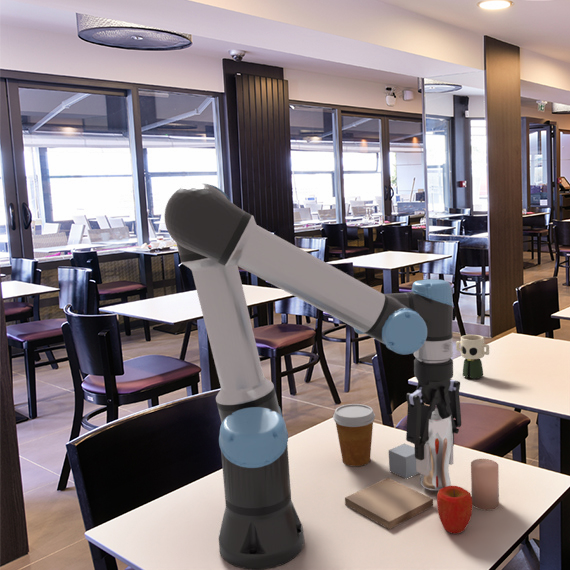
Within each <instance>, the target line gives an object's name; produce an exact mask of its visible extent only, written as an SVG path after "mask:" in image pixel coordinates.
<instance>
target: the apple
mask: <svg viewBox="0 0 570 570" xmlns="http://www.w3.org/2000/svg"><path fill="white" fill-rule="evenodd" d="M436 498H437V500H436V506H437V513H438V517H439V520H440V523H441V525H442V527H443V528H444V530H445V531H446V532H449V533H451V534H460V533H462V532H464V531H465V530H466V528H467V526H468V524H469V523H470V521H471V518H472V514H473V505H472V493H470V492H469V491H468V490H467V489H465V488H463V487H460V486H457V485H451V486H446V487H444V488H442V489H440V490H439V491H438V492H437V495H436Z"/></svg>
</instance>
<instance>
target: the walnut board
mask: <svg viewBox="0 0 570 570" xmlns="http://www.w3.org/2000/svg"><path fill="white" fill-rule="evenodd" d="M344 501H345V502H344V503H345V504H344V505H345V506H347V507H349V508H351V509H352V510H354V511H356V512H358V513H360V514H361V515H362V516H364V517H367V518H369V519H370V520H372V521H374V522H375V523H377V524H379V525H381V526H382V527H384V528H385V529H388V530H391V529H393V528H395V527H397V526H399V525H400V524H403V523H404V522H407V521H408V520H410V519H412V518H414V517H415V516H418V515H420V514H421V513H424V512H425V511H426V510H428V509H430V508H432V507H434V498H432V497H431V496H428V495H426V494H424V493H421V492H419V491H417V490H415V489H413V488H411V487H409V486H406V485H404V484H403V483H401V482H398V481H396V480H394V479H392V478H389V477H386V478H384V479H382V480H380V481H378V482H376V483H374V484H371V485H369V486H367V487H365V488H363V489H361V490H359V491H357V492H354V493H352V494H349V495H348V496H346V497H344Z"/></svg>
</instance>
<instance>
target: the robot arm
mask: <svg viewBox="0 0 570 570" xmlns="http://www.w3.org/2000/svg"><path fill="white" fill-rule="evenodd" d="M164 224H165V227H166V230H167V233H168V234H169V236H170V237H171V239H172V240H173V241H174V242H175V244H176V247H177V250H178V255H179V258H180V263H181V265H183V266H185V267H187V268H189V269H190V271H191V273H192V276H193V277H192V278H193V281H194V285H195V290H196V292H197V296H198V301H199V305H200V309H201V312H202V316H203V320H204V321H203V322H204V325H205V329H206V333H207V336H208V341H209V345H210V349H211V350H210V351H211V354H212V358H213V360H214V365H215V370H216V374H217V377H218V381H219V384H220V385H219V386H220V390H219V391H218V393H217V395H216V396H215V402H216V406H217V409H218V414H219V417H220V421H221V422H220V423H221V425H220V429H219V436H218V444H219V448H220V453H221V464H222V477H223V479H222V480H223V489H224V498H225V499H224V501H225V508H224V513H223V516H222V521H221V526H220V530H219V533H218V547H219V552H220V555H221V557H222V558H223V559H224V561H226V562H227V563H229V564H231V565H233V566H235V567H239V568H242V569H248V570H249V569H250V570H262V569H269V568H274V567H275V568H276V567H278V566H281V565H283V564H285V563H287V562H289V561H292V560H293V559H294V558H295V557H296V556H297V555H299V553H300V552H301V551H302V549H303V547H304V544H305V542H304V541H305V537H304V528H303V524H302V522H301V519H300V516H299V515H298V513H297V510H296V508H295V506H294V503H293V501H292V492H291V478H290V477H291V475H290V462H289V448H288V441H289V433H288V429H287V426H286V422H285V419H284V418H283V413H282V410H281V407H280V406H279V402H278V401H279V400H278V397H277V393H276V389H275V385H274V383H273V382H272V380H269V379H267V378H266V377H265V375H264V372H263V368H262V364H261V363H262V362H261V359H260V355H259V350H258V346H257V343H256V338H255V333H254V330H253V326H252V321H251V317H250V313H249V309H248V304H247V300H246V296H245V291H244V287H243V284H242V283H243V282H242V279H241V275H240V272H239V271H240V270H239V268H240V269H243V270H244V271H247V272H248V273H250V274H252V275H254V276H256V277H258V278H260V279H261V280H263V281H265V282H267V283H269V284H271V285H272V286H275V287H277V288H279V289H280V290H282V291H284V292H286V293H288V294H290V295H292V296H294V297H295V298H298V299H299V300H302V301H303V302H305V303H306V304H309V305H311V306H313V307H314V308H317V309H318V310H320V311H322V312H324V313H326V314H328V315H330V316H332V317H333V318H335V319H337V320H339V321H341V322H343V323H345V324H347V325H349V326H350V327H352V328H353V330H354V332H355V333H356V334H359V335H367V336H368V337H371V338H372V339H374V340H377V341H378V342H380V343H382V344H383V345H385V347H386V348H387V349H388V350H390V351H392V352H394V353H395V354H399V355H410V354H411V355H412V354H413V356H414V357H415V359H414V360H413V372H414V373H413V374H414V375H413V376H414V378H416V380H417V386H416V390H415V391H414V392H412V393H410V392H407V393H406V395H405V397H406V403H407V412H406V413H407V415H406V417H407V418H406V434H405V436H406V437H405V440H406V441H407V442H409V443H410V444H414V445H413V446H414V447H415V458H416V470H417V472H418V473H419V474H423V475H425V476H429V444H427V443H426V439H427V435H428V430H429V419H431V415H432V412H433V411H434V410H435V408H437V409H438V413H439V415H440V417H441V418H442V419H444V418H447V417H448V412H450V413H451V420H452V433H453V436H452V448H451V454H450V459H449V466H452V465H454V445H455V434H457V435H458V433H459V432H460V429H459V428H460V427H461V426H462V413H461V412H462V411H461V400H460V387H461V381H460V380H456V379H452V378H453V376H454V360H453V359H452V357H453V355H454V354H453V353H454V351H453V315H454V314H453V313H454V312H453V311H454V310H453V307H454V302H453V291H452V290H453V289H452V284H451V283H450V282H449V281H446V280H444V279H437V278H436V279H434V278H433V279H432V278H431V279H430V278H429V279H428V278H427V279H422V280H416V281H414V282H413V283H412V288H411V291H407V292H400V293H398V292H396V293H382V292H381V291H378V290H377V289H375V288H373V287H371V286H369V285H368V284H366V283H364V282H362V281H361V280H359V279H356V278H355V277H353V276H351V275H349V274H347V272H346V273H345V272H344V271H342V270H341V269H338V268H336V267H335V266H333V265H331V264H329V263H327V262H325V261H324V260H322V259H321V258H318V257H316V256H315V255H313V254H311V253H309V252H307V251H306V250H303V248H302V249H301V248H300V247H299V246H296V245H294V244H292V243H291V242H289V241H287V240H285V239H284V238H281V237H280V236H278V235H276V234H274V233H272V232H271V231H268V230H267V229H265V228H263V227H261V226H260V225H257V222H256V220H255V217H254V215H252V214H251V213H248V212H246V211H245V210H244V209H242V208H240V207H238V206H237V205H236V204H234V203H233V202H232V200H231V199H230V197H229V196H228V195H227V193H225V192H224V191H223V190H222V189H221V188H219V187H217V186H215V185H212V184H208V183H197V182H196V183H190V184H186V185H185V186H181V187H180V188H179V189H178V190H176V191H175V192H174V193H173V194H172V195H171V197H169V198H168V200H167V203H166V206H165V209H164ZM420 437H421V438H420Z"/></svg>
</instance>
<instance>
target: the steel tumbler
mask: <svg viewBox="0 0 570 570" xmlns="http://www.w3.org/2000/svg"><path fill="white" fill-rule="evenodd" d="M452 436H453V433H452V420H451V413H450V412H448V417H447V418H444V419H442V418H441V417H440V415H439V413H438V409H437V407H435V410H434V411H433V412H432V415H431V419H429V430H428V435H427V439H426V443H427V444H429V476H425V475H423V474H421V473H420V474H421V475H420V480H419V483H420V485H421V487H422V488H424V489H426V490H429V491H433V492H434V491H435V492H437V491H439V490H440V489H442V488H444V487H446V486H452V483H451V477H450V469H449V467H450V464H449V459H450V454H451V448H452ZM420 438H421V437H420Z"/></svg>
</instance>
